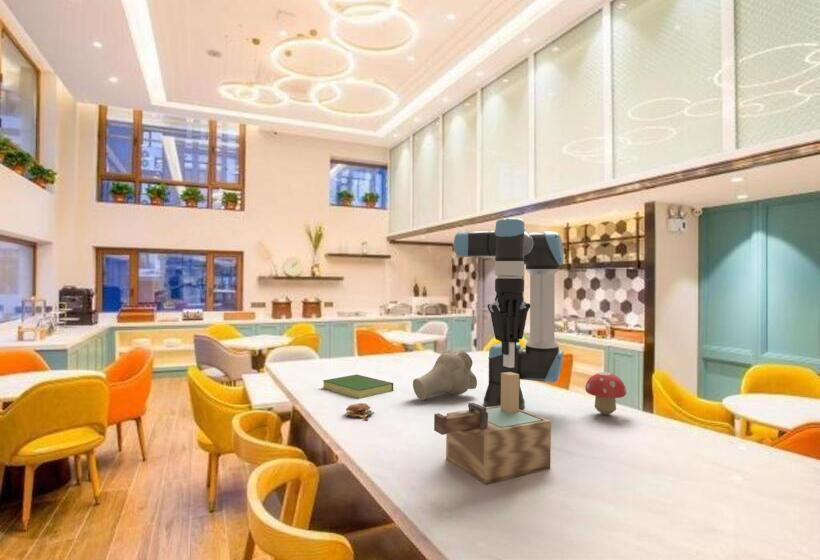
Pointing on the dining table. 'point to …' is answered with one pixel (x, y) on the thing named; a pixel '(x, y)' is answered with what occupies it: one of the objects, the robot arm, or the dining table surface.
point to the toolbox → (500, 448)
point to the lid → (509, 404)
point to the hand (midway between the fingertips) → (508, 366)
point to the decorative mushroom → (605, 391)
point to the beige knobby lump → (447, 376)
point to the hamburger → (359, 411)
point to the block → (457, 422)
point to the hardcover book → (358, 385)
